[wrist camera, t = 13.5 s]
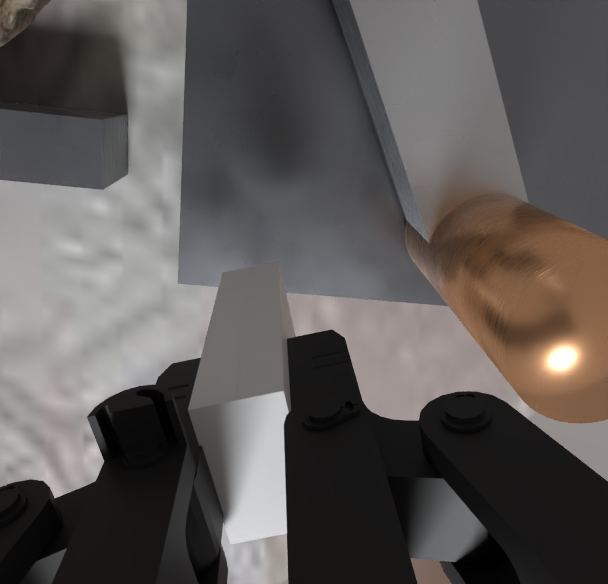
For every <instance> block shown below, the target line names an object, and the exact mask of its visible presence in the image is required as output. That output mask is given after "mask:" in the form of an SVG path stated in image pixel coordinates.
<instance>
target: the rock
mask: <svg viewBox="0 0 608 584" xmlns="http://www.w3.org/2000/svg"><path fill="white" fill-rule="evenodd" d="M50 1H51V0H0V47H1V46H3V45H5V44H6V43H8V42H9V41H10V40H12V39H13V38H14V37H16V36H17V35H18V34H20V33H21V32H22V31H23V30H25V29H26V28H27V27H28V26H29V25H30V24H31V22H32V21H33V19H34V18H35V16H36V15H37V14H38V13H39V12H40V11H41V9H42V8H43V7H44V6H45V5H47V4H48V3H49V2H50Z"/></svg>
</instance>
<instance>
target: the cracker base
mask: <svg viewBox="0 0 608 584" xmlns="http://www.w3.org/2000/svg"><path fill="white" fill-rule="evenodd" d="M477 2H478V6H479V10H480V13H481V17H482V21H483V25H484V29H485V33H486V37H487V41H488V45H489V49H490V53H491V57H492V61H493V65H494V68H495V72H496V76H497V80H498V84H499V88H500V92H501V96H502V100H503V104H504V108H505V112H506V116H507V120H508V123H509V127H510V131H511V135H512V139H513V143H514V147H515V151H516V155H517V159H518V163H519V167H520V171H521V175H522V179H523V182H524V186H525V190H526V194H527V198H528V202H529V204H531V205H534V206H536V207H538V208H540V209H542V210H544V211H546V212H549V213H551V214H553V215H555V216H557V217H559V218H561V219H564V220H566V221H568V222H570V223H572V224H574V225H576V226H579V227H581V228H583V229H585V230H587V231H589V232H591V233H593V234H596V235H598V236H600V237H602V238H604V239H606V240H608V0H477ZM127 174H128V114H119V113H109V112H100V111H91V110H81V109H72V108H63V107H53V106H44V105H35V104H25V103H16V102H7V101H0V180H9V181H19V182H29V183H40V184H50V185H61V186H71V187H82V188H92V189H102V190H103V189H105V188H106V187H108V186H110V185H111V184H113V183H114V182H116V181H118V180H119V179H121V178H123V177H124V176H126V175H127ZM406 221H407V220H406V217H405V214H404V211H403V208H402V205H401V202H400V199H399V196H398V194H397V191H396V188H395V185H394V182H393V179H392V176H391V173H390V170H389V167H388V164H387V161H386V158H385V155H384V152H383V149H382V146H381V143H380V140H379V137H378V134H377V131H376V128H375V125H374V123H373V120H372V117H371V114H370V111H369V108H368V105H367V102H366V99H365V96H364V93H363V90H362V87H361V84H360V81H359V78H358V75H357V72H356V69H355V66H354V63H353V60H352V57H351V54H350V52H349V49H348V46H347V43H346V40H345V37H344V34H343V31H342V28H341V25H340V22H339V19H338V16H337V13H336V10H335V7H334V4H333V1H332V0H187V29H186V59H185V90H184V120H183V150H182V180H181V211H180V241H179V271H178V284H190V285H202V286H214V287H219V285H220V281H221V277H222V273H223V272H227V271H232V270H237V269H242V268H247V267H252V266H256V265H261V264H266V263H271V262H276V261H279V265H280V270H281V274H282V279H283V283H284V288H285V292H286V293H298V294H310V295H322V296H335V297H347V298H359V299H371V300H383V301H395V302H407V303H419V304H431V305H443V306H448V305H447V304H446V302H445V301H444V300H443V298H442V297H441V296H440V295H439V293H438V292H437V291H436V290H435V288H434V287H433V286H432V285H431V283H430V282H429V281H428V279H427V278H426V277H425V276H424V274H423V273H422V272H421V271H420V269H419V268H418V267H417V265H416V264H415V263H414V262H413V260H412V259H411V257H410V255H409V253H408V250H407V247H406V243H405V225H406Z"/></svg>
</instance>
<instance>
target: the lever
mask: <svg viewBox="0 0 608 584" xmlns="http://www.w3.org/2000/svg"><path fill="white" fill-rule="evenodd" d="M332 1H333V4H334V7H335V10H336V13H337V16H338V19H339V22H340V25H341V28H342V31H343V34H344V37H345V40H346V43H347V46H348V49H349V52H350V54H351V57H352V60H353V63H354V66H355V69H356V72H357V75H358V78H359V81H360V84H361V87H362V90H363V93H364V96H365V99H366V102H367V105H368V108H369V111H370V114H371V117H372V120H373V123H374V125H375V128H376V131H377V134H378V137H379V140H380V143H381V146H382V149H383V152H384V155H385V158H386V161H387V164H388V167H389V170H390V173H391V176H392V179H393V182H394V185H395V188H396V191H397V194H398V196H399V199H400V202H401V205H402V208H403V211H404V214H405V217H406V220H407V221H406V225H405V243H406V247H407V250H408V253H409V255H410V257H411V259H412V260H413V262H414V263H415V264H416V265H417V267H418V268H419V269H420V271H421V272H422V273H423V274H424V276H425V277H426V278H427V279H428V281H429V282H430V283H431V285H432V286H433V287H434V288H435V290H436V291H437V292H438V293H439V295H440V296H441V297H442V298H443V300H444V301H445V302H446V304H447V305H448V306H449V307H450V309H451V310H452V311H453V312H454V314H455V315H456V316H457V318H458V319H459V320H460V321H461V323H462V324H463V325H464V326H465V328H466V329H467V330H468V332H469V333H470V334H471V335H472V337H473V338H474V339H475V340H476V342H477V343H478V344H479V346H480V347H481V348H482V349H483V351H484V352H485V353H486V354H487V356H488V357H489V358H490V359H491V361H492V362H493V363H494V365H495V366H496V367H497V368H498V370H499V371H500V372H501V373H502V375H503V376H504V377H505V379H506V380H507V381H508V382H509V384H510V385H511V386H512V387H513V389H514V390H515V391H516V393H517V394H518V395H519V396H520V397H521V399H522V400H523V401H524V402H525V403H526V404H527V405H528V406H529V407H531V408H532V409H533V410H535V411H536V412H538V413H540V414H542V415H544V416H546V417H548V418H551V419H554V420H558V421H562V422H568V423H592V422H597V421H603V420H606V419H608V240H606V239H604V238H602V237H600V236H598V235H596V234H593V233H591V232H589V231H587V230H585V229H583V228H581V227H579V226H576V225H574V224H572V223H570V222H568V221H566V220H564V219H561V218H559V217H557V216H555V215H553V214H551V213H549V212H546V211H544V210H542V209H540V208H538V207H536V206H534V205H531V204H529V202H528V198H527V194H526V190H525V186H524V182H523V179H522V175H521V171H520V167H519V163H518V159H517V155H516V151H515V147H514V143H513V139H512V135H511V131H510V127H509V123H508V120H507V116H506V112H505V108H504V104H503V100H502V96H501V92H500V88H499V84H498V80H497V76H496V72H495V68H494V65H493V61H492V57H491V53H490V49H489V45H488V41H487V37H486V33H485V29H484V25H483V21H482V17H481V13H480V10H479V6H478V2H477V0H332Z"/></svg>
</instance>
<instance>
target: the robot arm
mask: <svg viewBox="0 0 608 584" xmlns="http://www.w3.org/2000/svg"><path fill="white" fill-rule="evenodd" d="M87 418H88V421H89V423H90V426H91V428H92V431H93V433H94V436H95V438H96V441H97V444H98V446H99V449H100V451H101V454H102V456H103V459H104V464H103V466H102V468H101V471H100V473H99V475H98V478H97V480H96V481H95V482H93V483H91V484H89V485H87V486H85V487H82V488H80V489H77V490H75V491H72V492H70V493H67V494H65V495H62V496H60V497H57V498H54V496H53V494H52V491H51V489H50V487H49V486H48V485H47V484H46V483H44V482H43V481H38V480H25V481H20V482H14V483H11V484H8V485H6V486H2V487H0V584H227V576H228V567H227V561H226V557H225V554H224V551H223V548H222V544H221V537H222V527H223V523H224V526H225V529H226V532H227V535H228V538H229V542H230V544H235V543H241V542H246V541H251V540H256V539H261V538H266V537H271V536H276V535H282V534H287V549H288V581H289V584H417V580H416V577H415V574H414V570H413V567H412V563H411V559H410V558H417V559H427V560H437V561H440V563H441V566H442V568H443V571H444V573H445V574H446V576H447V577H448V579H449V580H450V581H451V583H452V584H608V481H606V480H605V479H604V478H602V477H601V476H600V475H598V474H597V473H596V472H595V471H593V470H592V469H591V468H590V467H588V466H587V465H586V464H585V463H583V462H582V461H581V460H579V459H578V458H577V457H576V456H574V455H573V454H572V453H570V452H569V451H568V450H567V449H565V448H564V447H563V446H561V445H560V444H559V443H558V442H556V441H555V440H553V439H552V438H551V437H550V436H549V435H547V434H546V433H545V432H543V431H542V430H541V429H540V428H538V427H537V426H536V425H534V424H533V423H532V422H531V421H529V420H528V419H527V418H526V417H524V416H523V415H522V414H520V413H519V412H518V411H517V410H515V409H514V408H513V407H511V406H510V405H509V404H508V403H506V402H505V401H503V400H501V399H499V398H497V397H495V396H493V395H489V394H485V393H480V392H470V391H466V392H464V391H463V392H455V393H451V394H446V395H442V396H440V397H438V398H436V399H434V400H432V401H430V402H429V403H428V404H427V405H426V406H425V407H424V408H423V409H422V410H421V412H420V418H419V421H404V420H392V419H388V418H384V417H381V416H379V415H377V414H375V413H372V412H371V411H370V410H369V409H368V408H367V407H366V406H365V404H364V403H363V401H362V398H361V394H360V391H359V387H358V383H357V380H356V376H355V373H354V369H353V366H352V363H351V359H350V355H349V352H348V348H347V344H346V341H345V338H344V337H342V336H341V335H339V334H338V333H337V332H335V331H334V330H328V331H323V332H318V333H313V334H308V335H303V336H298V337H295V332H294V328H293V323H292V319H291V314H290V310H289V305H288V301H287V296H286V292H285V288H284V283H283V279H282V274H281V270H280V265H279V261H276V262H271V263H266V264H261V265H256V266H252V267H247V268H242V269H237V270H232V271H227V272H223V273H222V277H221V281H220V285H219V288H218V292H217V296H216V300H215V304H214V308H213V312H212V316H211V320H210V324H209V328H208V332H207V336H206V340H205V344H204V348H203V352H202V356H201V358H197V359H193V360H188V361H183V362H178V363H173V364H171V365H170V366H169V367H168V368H167V369H166V370H165V371H164V372H163V373H162V374H161V375H160V376H159V377H158V380H157V382H156V385H146V386H138V387H135V388H131V389H128V390H124V391H122V392H120V393H118V394H116V395H114V396H111V397H109V398H107V399H106V400H105V401H103V402H102V403H100V404H99V405H98V406H96V407H95V408H94V409H93V411H92V412H91V413H90V414H89V415H88V417H87Z"/></svg>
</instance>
